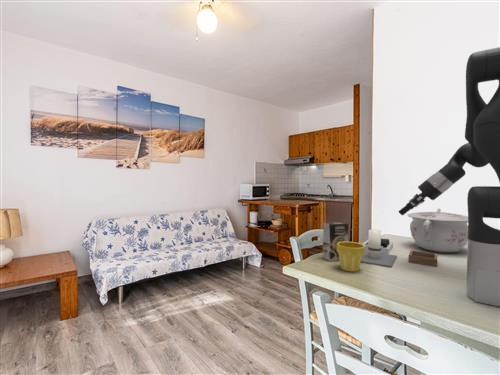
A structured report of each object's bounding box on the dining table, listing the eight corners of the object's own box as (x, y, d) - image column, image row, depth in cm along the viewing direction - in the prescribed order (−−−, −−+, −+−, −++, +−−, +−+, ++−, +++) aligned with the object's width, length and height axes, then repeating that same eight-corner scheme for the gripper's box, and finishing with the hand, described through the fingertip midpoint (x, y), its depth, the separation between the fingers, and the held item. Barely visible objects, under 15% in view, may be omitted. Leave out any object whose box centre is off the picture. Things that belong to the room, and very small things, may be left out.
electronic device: (369, 251, 131) (369, 241, 131) (373, 246, 140) (373, 237, 140) (386, 253, 127) (386, 243, 127) (389, 248, 136) (389, 239, 136)
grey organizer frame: (388, 254, 126) (388, 248, 125) (361, 250, 132) (361, 245, 132) (392, 247, 139) (393, 242, 138) (368, 243, 146) (368, 239, 145)
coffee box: (330, 261, 114) (330, 224, 113) (322, 257, 120) (322, 222, 119) (348, 260, 116) (349, 223, 116) (340, 256, 122) (340, 221, 122)
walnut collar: (437, 266, 107) (437, 259, 107) (408, 262, 113) (408, 255, 113) (437, 260, 115) (437, 253, 115) (410, 256, 121) (410, 250, 121)
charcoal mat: (391, 267, 106) (391, 266, 106) (349, 260, 115) (349, 259, 115) (396, 256, 121) (396, 255, 121) (359, 251, 130) (359, 250, 130)
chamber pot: (446, 243, 148) (446, 205, 147) (489, 257, 120) (490, 211, 119) (395, 242, 148) (395, 205, 147) (426, 257, 121) (427, 211, 120)
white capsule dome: (379, 259, 114) (380, 232, 114) (366, 257, 117) (367, 230, 117) (381, 257, 119) (382, 230, 118) (369, 254, 122) (369, 228, 121)
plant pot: (369, 269, 104) (369, 244, 104) (356, 275, 97) (356, 249, 97) (344, 263, 112) (345, 240, 112) (331, 268, 105) (331, 243, 105)
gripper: (427, 179, 112) (396, 204, 119) (426, 178, 100) (392, 207, 107) (443, 192, 109) (410, 217, 116) (443, 193, 97) (407, 221, 104)
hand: (401, 212), depth 111 cm, fingers open, 8 cm apart
